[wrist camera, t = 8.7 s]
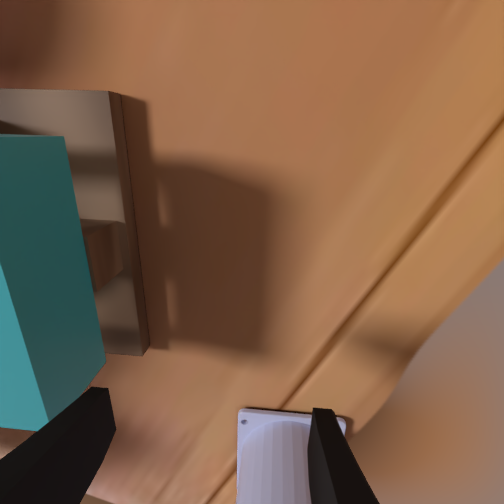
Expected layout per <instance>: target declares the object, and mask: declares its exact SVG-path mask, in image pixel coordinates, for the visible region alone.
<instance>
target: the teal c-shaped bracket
mask: <svg viewBox="0 0 504 504" xmlns="http://www.w3.org/2000/svg"><path fill="white" fill-rule="evenodd" d="M105 363H106V357H105V352H104V347H103V341H102V336H101V331H100V325H99V320H98V315H97V309H96V304H95V299H94V293H93V288H92V283H91V277H90V272H89V267H88V261H87V256H86V251H85V245H84V240H83V235H82V229H81V224H80V219H79V213H78V208H77V203H76V197H75V192H74V187H73V181H72V176H71V171H70V166H69V160H68V155H67V150H66V144H65V139H64V136H45V135H16V134H0V427H3V428H12V429H22V430H31V431H38V430H39V429H41V428H42V427H43V426H44V425H46V424H47V423H48V422H49V421H51V420H52V419H53V418H54V417H55V416H57V415H58V414H59V413H60V412H62V411H63V410H64V409H65V408H66V407H68V406H69V405H70V404H71V403H72V402H74V401H75V400H76V399H77V398H79V397H80V395H81V394H82V393H83V392H84V390H85V389H86V388H87V386H88V385H89V384H90V382H91V381H92V380H93V378H94V377H95V376H96V374H97V373H98V372H99V370H100V369H101V368H102V367H103V365H104V364H105Z"/></svg>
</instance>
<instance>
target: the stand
mask: <svg viewBox="0 0 504 504" xmlns="http://www.w3.org/2000/svg"><path fill="white" fill-rule="evenodd" d="M0 134H16V135H45V136H64V139H65V144H66V150H67V155H68V160H69V166H70V171H71V176H72V181H73V187H74V192H75V197H76V203H77V208H78V213H79V219H80V224H81V229H82V235H83V240H84V245H85V251H86V256H87V261H88V267H89V272H90V277H91V283H92V288H93V293H94V299H95V304H96V309H97V315H98V320H99V325H100V331H101V336H102V341H103V347H104V352H105V353H109V354H121V355H133V356H143V355H144V354H145V352H146V350H147V349H148V347H149V345H150V342H149V333H148V325H147V316H146V308H145V299H144V291H143V282H142V274H141V265H140V257H139V248H138V240H137V231H136V223H135V215H134V206H133V198H132V189H131V181H130V172H129V164H128V155H127V147H126V138H125V130H124V121H123V113H122V104H121V96H120V94H118V93H114V92H110V91H89V90H45V89H2V88H0Z"/></svg>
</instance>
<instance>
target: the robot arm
mask: <svg viewBox="0 0 504 504" xmlns="http://www.w3.org/2000/svg"><path fill="white" fill-rule="evenodd" d="M115 431H116V426H115V421H114V415H113V410H112V405H111V400H110V395H109V390H108V388H100V387H91V388H90V389H88V390H87V391H86V392H85V393H83V394H82V395H81V396H80V397H79V398H77V399H76V400H75V401H74V402H72V403H71V404H70V405H69V406H68V407H66V408H65V409H64V410H63V411H62V412H60V413H59V414H58V415H57V416H55V417H54V418H53V419H52V420H51V421H49V422H48V423H47V424H46V425H44V426H43V427H42V428H41V429H39V430H38V431H37V432H36V433H34V434H33V435H32V436H31V437H29V438H28V439H27V440H26V441H24V442H23V443H22V444H20V445H19V446H18V447H16V448H15V449H14V450H12V451H11V452H10V453H8V454H7V455H6V456H5V457H3V458H2V459H1V460H0V504H80V502H81V500H82V498H83V497H84V495H85V493H86V491H87V490H88V488H89V486H90V484H91V482H92V480H93V479H94V477H95V475H96V473H97V471H98V469H99V468H100V466H101V464H102V462H103V460H104V457H105V455H106V453H107V451H108V448H109V446H110V443H111V441H112V439H113V436H114V434H115ZM345 431H346V422H345V420H344V419H343V418H340V417H336V416H335V413H334V412H333V410H332V409H323V408H313V412H312V415H309V414H298V413H288V412H277V411H267V410H257V409H246V408H244V409H240V410H239V413H238V447H237V498H236V504H379V502H378V500H377V498H376V497H375V495H374V493H373V491H372V489H371V488H370V486H369V484H368V482H367V481H366V478H365V476H364V475H363V473H362V471H361V469H360V467H359V465H358V463H357V461H356V459H355V457H354V455H353V453H352V452H351V449H350V447H349V445H348V443H347V441H346V439H345V437H344V435H345Z"/></svg>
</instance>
